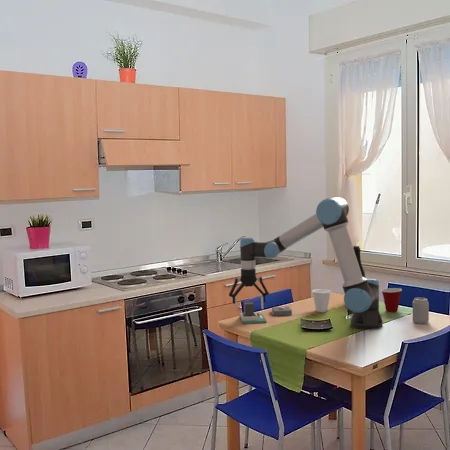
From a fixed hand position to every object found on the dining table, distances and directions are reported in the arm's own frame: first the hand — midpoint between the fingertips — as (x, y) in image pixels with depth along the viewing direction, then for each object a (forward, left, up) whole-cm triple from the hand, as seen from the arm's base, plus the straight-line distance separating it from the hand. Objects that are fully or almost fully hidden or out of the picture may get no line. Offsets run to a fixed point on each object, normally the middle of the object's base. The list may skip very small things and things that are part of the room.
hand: (249, 309), depth 277 cm
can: (-18, -82, -6) cm, 85 cm away
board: (+1, -2, -6) cm, 6 cm away
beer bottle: (+26, -65, -6) cm, 70 cm away
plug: (0, 0, -5) cm, 5 cm away
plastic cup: (+5, -77, -6) cm, 77 cm away
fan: (+11, -19, -6) cm, 23 cm away
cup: (+12, -41, -6) cm, 43 cm away
